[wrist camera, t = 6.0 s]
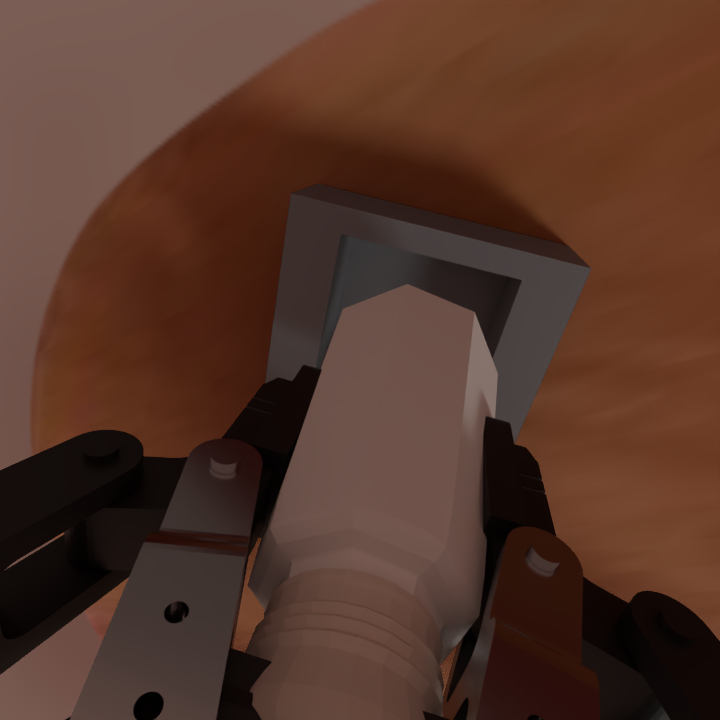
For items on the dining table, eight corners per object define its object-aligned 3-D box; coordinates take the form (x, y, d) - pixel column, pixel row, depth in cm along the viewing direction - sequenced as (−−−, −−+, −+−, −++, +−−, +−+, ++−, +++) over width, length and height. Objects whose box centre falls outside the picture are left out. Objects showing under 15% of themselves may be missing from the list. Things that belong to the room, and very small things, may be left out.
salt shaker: (328, 434, 17) (143, 867, 7) (316, 280, 14) (14, 600, 5) (490, 446, 16) (546, 970, 6) (505, 283, 13) (640, 696, 4)
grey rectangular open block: (453, 526, 25) (453, 582, 22) (271, 473, 26) (246, 519, 23) (568, 245, 18) (591, 268, 15) (317, 183, 19) (290, 193, 16)
